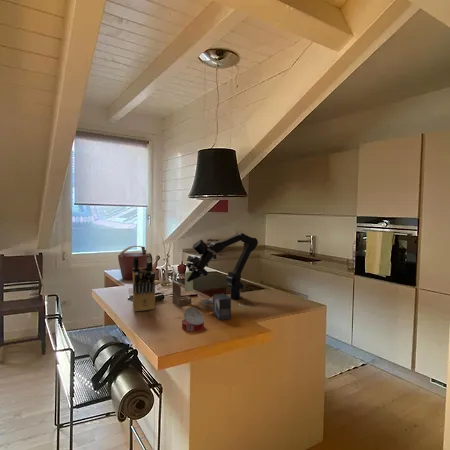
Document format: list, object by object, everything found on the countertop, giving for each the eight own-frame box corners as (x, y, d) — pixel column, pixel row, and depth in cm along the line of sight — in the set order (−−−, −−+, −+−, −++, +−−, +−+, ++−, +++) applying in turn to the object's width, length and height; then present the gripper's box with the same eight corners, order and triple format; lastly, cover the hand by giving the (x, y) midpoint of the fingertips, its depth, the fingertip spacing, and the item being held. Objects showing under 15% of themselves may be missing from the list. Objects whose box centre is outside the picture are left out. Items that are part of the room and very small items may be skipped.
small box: (212, 314, 169) (212, 293, 169) (223, 312, 171) (224, 292, 171) (218, 320, 159) (219, 299, 159) (231, 319, 162) (231, 298, 161)
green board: (191, 290, 188) (191, 271, 187) (192, 291, 186) (193, 271, 186) (184, 291, 186) (185, 271, 185) (186, 292, 184) (186, 272, 184)
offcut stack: (210, 306, 183) (210, 297, 183) (216, 309, 177) (216, 300, 177) (197, 308, 179) (197, 299, 179) (203, 311, 173) (203, 302, 173)
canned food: (199, 334, 154) (209, 315, 155) (198, 340, 144) (209, 319, 145) (178, 322, 154) (188, 303, 155) (175, 327, 144) (186, 307, 145)
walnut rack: (188, 302, 191) (189, 279, 190) (195, 306, 183) (195, 282, 183) (172, 304, 186) (172, 281, 186) (178, 308, 178) (178, 284, 178)
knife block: (133, 317, 162) (132, 255, 161) (132, 299, 196) (132, 247, 195) (156, 316, 165) (156, 254, 164) (152, 298, 199) (152, 246, 198)
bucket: (142, 274, 273) (142, 243, 272) (155, 278, 256) (155, 246, 255) (113, 277, 258) (113, 245, 257) (125, 282, 241) (124, 248, 240)
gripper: (188, 248, 195) (171, 269, 190) (202, 252, 179) (183, 274, 174) (200, 261, 199) (183, 281, 194) (215, 265, 183) (197, 287, 178)
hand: (186, 280), depth 185 cm, fingers closed on green board, 2 cm apart
